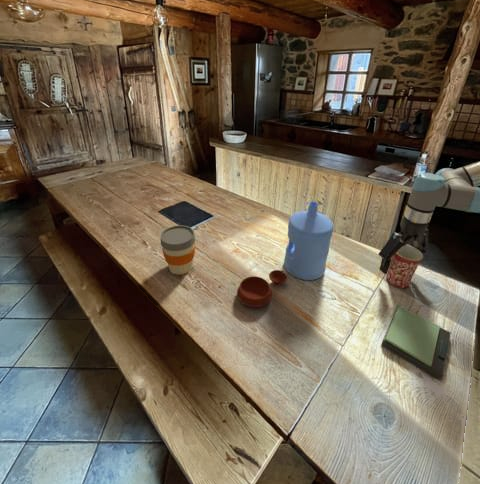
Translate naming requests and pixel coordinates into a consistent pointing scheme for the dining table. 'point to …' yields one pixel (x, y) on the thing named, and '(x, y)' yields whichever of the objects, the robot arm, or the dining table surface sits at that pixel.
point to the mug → (403, 266)
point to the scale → (418, 341)
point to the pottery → (259, 289)
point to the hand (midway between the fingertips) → (397, 268)
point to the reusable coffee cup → (178, 248)
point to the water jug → (308, 243)
